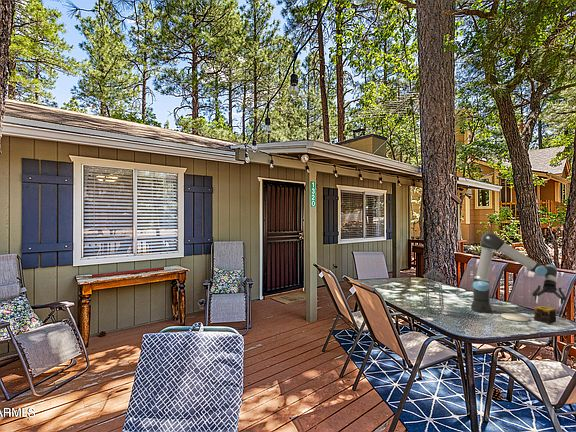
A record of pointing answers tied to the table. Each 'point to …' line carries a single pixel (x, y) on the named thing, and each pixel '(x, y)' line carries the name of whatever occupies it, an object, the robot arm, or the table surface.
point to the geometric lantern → (434, 286)
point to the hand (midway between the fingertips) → (548, 305)
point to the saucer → (515, 317)
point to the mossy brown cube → (545, 314)
